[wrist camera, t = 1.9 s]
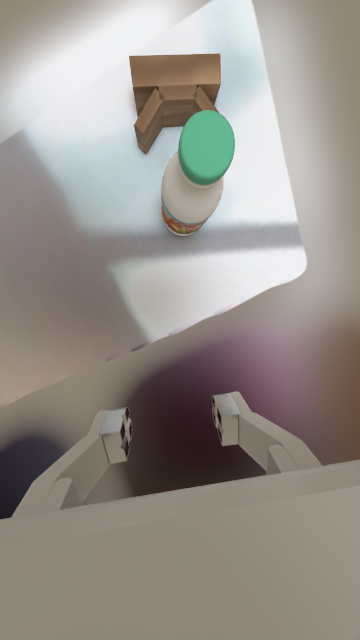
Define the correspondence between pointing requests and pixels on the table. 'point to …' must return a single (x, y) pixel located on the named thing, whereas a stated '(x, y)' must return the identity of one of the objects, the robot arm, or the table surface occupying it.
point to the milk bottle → (197, 172)
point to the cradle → (172, 91)
